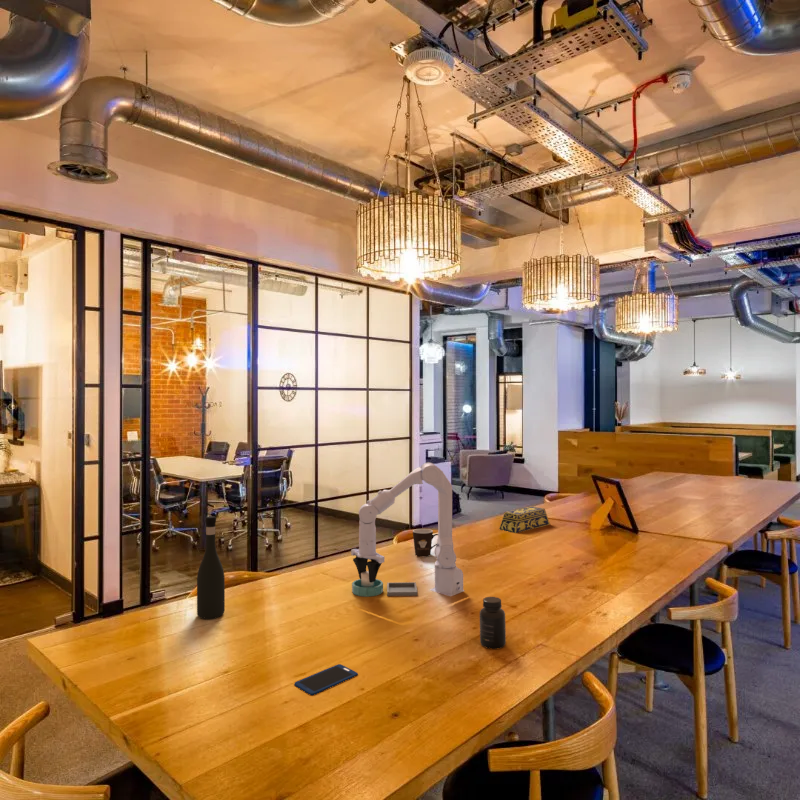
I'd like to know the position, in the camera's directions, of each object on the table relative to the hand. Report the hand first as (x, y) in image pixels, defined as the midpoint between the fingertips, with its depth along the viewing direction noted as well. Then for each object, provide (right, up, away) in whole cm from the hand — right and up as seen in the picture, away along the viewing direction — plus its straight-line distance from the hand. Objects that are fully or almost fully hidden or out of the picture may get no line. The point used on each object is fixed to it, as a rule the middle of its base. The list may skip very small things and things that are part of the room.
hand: (367, 580), depth 194 cm
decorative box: (+75, -5, +100) cm, 126 cm away
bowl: (0, -4, 0) cm, 4 cm away
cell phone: (-6, -5, -60) cm, 60 cm away
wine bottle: (-47, -5, -20) cm, 51 cm away
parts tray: (+12, -4, +1) cm, 12 cm away
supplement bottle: (+36, -5, -41) cm, 54 cm away
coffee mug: (+22, -5, +47) cm, 53 cm away
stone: (0, -2, 0) cm, 2 cm away
